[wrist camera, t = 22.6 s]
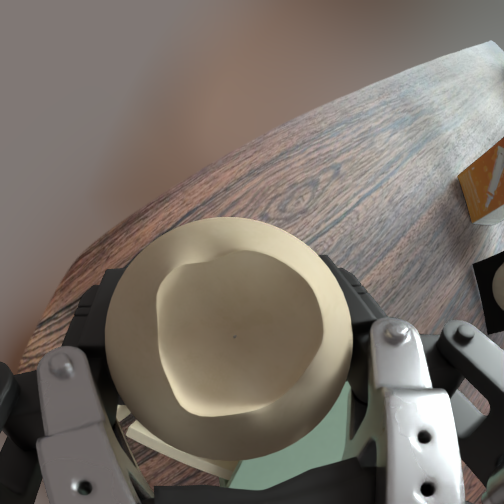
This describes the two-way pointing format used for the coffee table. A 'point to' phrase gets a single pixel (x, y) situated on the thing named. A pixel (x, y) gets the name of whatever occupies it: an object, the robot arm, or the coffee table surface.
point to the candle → (228, 338)
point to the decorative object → (492, 290)
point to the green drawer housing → (296, 453)
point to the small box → (485, 186)
